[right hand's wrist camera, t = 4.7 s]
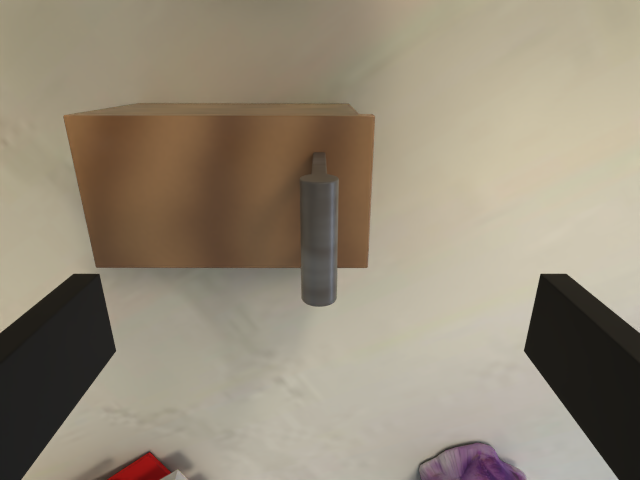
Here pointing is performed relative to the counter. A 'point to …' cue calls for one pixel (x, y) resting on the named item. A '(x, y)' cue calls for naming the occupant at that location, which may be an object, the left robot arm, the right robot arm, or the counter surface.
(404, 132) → the counter surface
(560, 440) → the counter surface
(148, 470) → the toy
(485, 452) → the figurine
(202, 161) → the door
